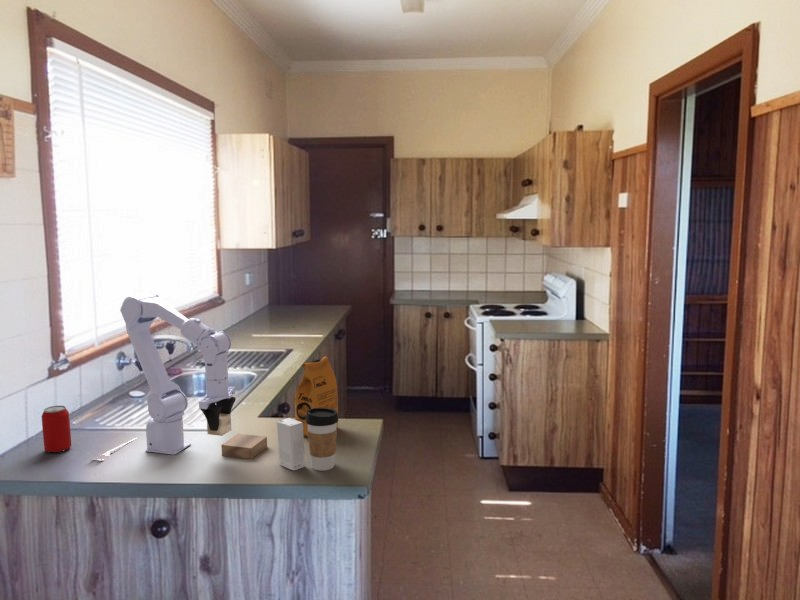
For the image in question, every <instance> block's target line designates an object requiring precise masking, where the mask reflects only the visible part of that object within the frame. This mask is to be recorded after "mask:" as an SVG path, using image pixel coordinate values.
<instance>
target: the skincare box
mask: <svg viewBox="0 0 800 600" xmlns="http://www.w3.org/2000/svg"><path fill="white" fill-rule="evenodd" d="M276 429H277V443H278V455H279V456H278V457H279V458H278V459H279V465H280V466H282V467H284V468H287V469H288V470H291V471H293V472H294V471H297V470H300V469H302V468H305V467H306V455H305V453H306V452H305V436H304V434H303V423H302V422H299V421H296V420H295V419H294V418H290V417H288V418H284V419H281V420H278V421H276Z"/></svg>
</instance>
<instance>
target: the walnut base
mask: <svg viewBox="0 0 800 600" xmlns="http://www.w3.org/2000/svg"><path fill="white" fill-rule="evenodd" d="M266 448H268V437H267V436H263V435H254V434H246V433H237V434H236V435H235V436H233V437H230V439H228V440H227V441H225V442H223V443H222V444H221V456H224V457H234V458H240V457H242V458H243V459H249V458H251V460H252V459H253V458H255V457H256V456H257V455H258V453H259V452H260V453H261V452H262V451H264V450H265V449H266ZM260 453H259V454H260ZM254 456H255V457H254Z"/></svg>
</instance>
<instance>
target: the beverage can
mask: <svg viewBox="0 0 800 600" xmlns="http://www.w3.org/2000/svg"><path fill="white" fill-rule="evenodd" d="M41 425H42V426H41V427H42V437H43V438H42V439H43V447H44V451H46V452H48V453H50V452H59V453H61V452H60V451H63V450H66V449H67V450H68V449H70V448H71V446H72V433H71V419H70V412H69V410H68V409H67V407H66V406H65V405H53V406H48V407H45V408H44V409H43V412H42V414H41ZM67 450H66V451H67ZM63 452H64V451H63Z"/></svg>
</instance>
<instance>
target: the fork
mask: <svg viewBox="0 0 800 600" xmlns="http://www.w3.org/2000/svg"><path fill="white" fill-rule="evenodd" d="M135 439H136V440H137V439H138V437H135V438H133V439H130V440H129V441H127V442H125V443H122V444H120V445H118V446H115V447H114V448H111V449H110V450H108V451H106V452H104V453H102V454H101V455H105V456H110V457H111V455H112V454H113V453H115V452H117V451H118V450H117V449H119V448H121V447H122V446H124V445H126V444H127V443H129V442H131V441H132V442H134V441H136V440H135ZM133 440H134V441H133ZM132 442H131V443H132ZM129 444H130V443H129ZM127 445H128V444H127ZM127 445H126V446H127ZM124 447H125V446H124ZM121 449H122V448H121ZM116 450H117V451H116ZM119 450H120V449H119ZM114 451H115V452H114ZM111 453H112V454H111ZM87 459H88V460H89V461H99V462H101V461H102V462H104V461H105V460H104V459H102V460H101V459H95V458H87ZM103 460H104V461H103Z"/></svg>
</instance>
